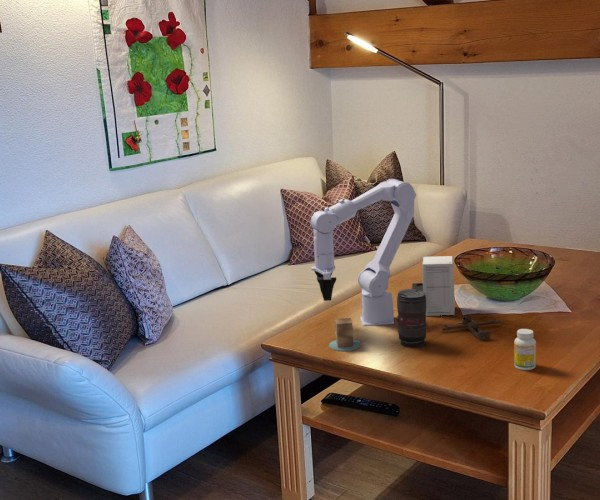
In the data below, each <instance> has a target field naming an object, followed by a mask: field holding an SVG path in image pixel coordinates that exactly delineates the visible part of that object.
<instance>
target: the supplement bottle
mask: <svg viewBox="0 0 600 500" xmlns="http://www.w3.org/2000/svg"><path fill="white" fill-rule="evenodd" d="M516 336H517V337H516V338H515V339H514V344H513V345H514V346H513V347H514V348H513V349H514V350H513V353H514V354H513V356H514V357H513V361H514V362H513V364H514V365H513V366H514V367H515V369H517V370H521V371H531V370H533V369H535V368H536V365H537V363H536V362H537V357H536V356H537V341H536V339H535V338H534V336H535V335H534V331H533V330H532V329H529V328H520V329H518V330H517V331H516Z"/></svg>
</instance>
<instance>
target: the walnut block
mask: <svg viewBox="0 0 600 500" xmlns="http://www.w3.org/2000/svg"><path fill="white" fill-rule="evenodd" d="M334 320H335V325H334V326H335V332H336V334H335V340H336V343H337V346H338V348H340V347H353V339H354V332H353V331H354V330H353V321H352V318H351V317H345V318H343V317H342V318H335V319H334Z"/></svg>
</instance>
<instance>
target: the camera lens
mask: <svg viewBox="0 0 600 500" xmlns="http://www.w3.org/2000/svg"><path fill="white" fill-rule="evenodd" d="M396 308H397V309H396V310H397V316H396V323H397V333H398V338H399V340H400V345H402V346H403V347H407V348H419V347H423V346H424V345H425V343H426V338H427V316H426V294H425V292H424V291H421V290H417V289H412V288H408V289H407V288H406V289H401V290H400V291H399V290H398V292H397V297H396Z"/></svg>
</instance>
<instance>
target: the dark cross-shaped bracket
mask: <svg viewBox="0 0 600 500" xmlns="http://www.w3.org/2000/svg"><path fill="white" fill-rule="evenodd" d="M500 323H501V321H500V320H498V319H496V318H494V319H492V320H490V321H483V322H479V321H478V322H475V321H474V320H473V319H472V316H471V315H469V314H467V315H466V317H465V316H464V317H463V318H462V321H458V324H459V325H447V324H445V325H444V326H443V327H441V331H449V330H450V331H451V330H456V329H457V330H459V329H467V330H468V331H469V332H470V333H472V334H473V335H474V337H476V338H477V339H478V340H479V341H481V340H482V341H484V340H485V341H488V340H490V338H491V333H492V332H491V330H485V331H483V330H482V329H481V328H480V327H482V326H488V325H497V324H500Z"/></svg>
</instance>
